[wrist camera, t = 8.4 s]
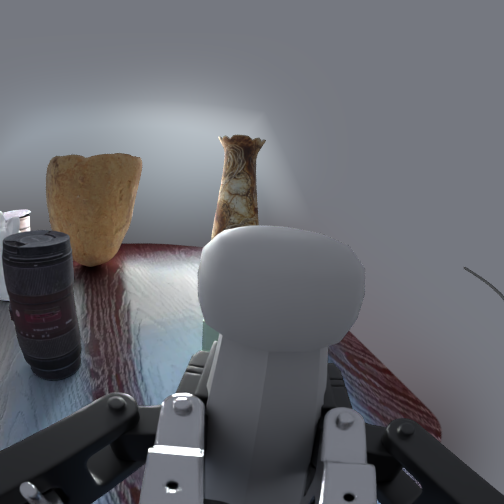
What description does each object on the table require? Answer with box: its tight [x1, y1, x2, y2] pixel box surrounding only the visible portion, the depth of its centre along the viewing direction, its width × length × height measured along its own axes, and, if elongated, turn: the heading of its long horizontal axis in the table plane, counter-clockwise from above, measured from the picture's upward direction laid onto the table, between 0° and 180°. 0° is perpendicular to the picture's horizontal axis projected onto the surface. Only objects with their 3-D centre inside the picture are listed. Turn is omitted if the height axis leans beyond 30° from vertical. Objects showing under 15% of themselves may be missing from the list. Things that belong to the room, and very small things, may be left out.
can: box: [3, 210, 31, 232], centre depth 55 cm, size 11×11×12 cm
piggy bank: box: [0, 211, 21, 301], centre depth 36 cm, size 12×12×15 cm
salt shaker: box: [198, 226, 365, 504], centre depth 9 cm, size 6×6×13 cm
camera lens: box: [2, 230, 81, 380], centre depth 25 cm, size 8×8×15 cm
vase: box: [211, 135, 266, 240], centre depth 62 cm, size 10×11×30 cm
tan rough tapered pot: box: [46, 153, 142, 267], centre depth 58 cm, size 22×22×25 cm
